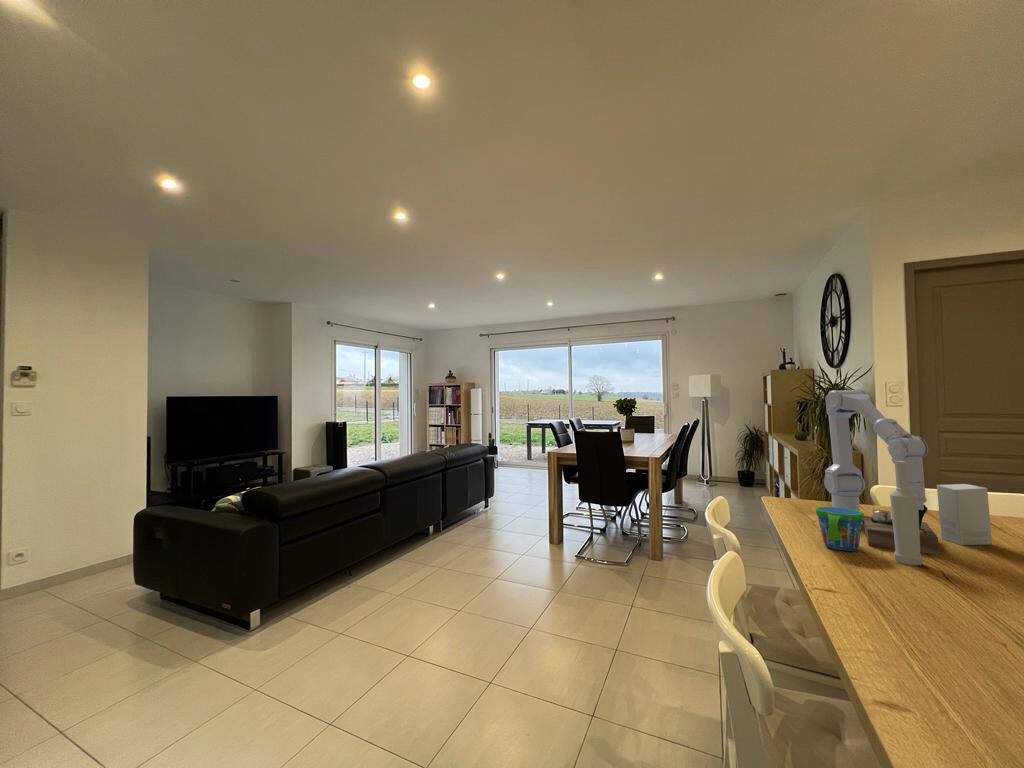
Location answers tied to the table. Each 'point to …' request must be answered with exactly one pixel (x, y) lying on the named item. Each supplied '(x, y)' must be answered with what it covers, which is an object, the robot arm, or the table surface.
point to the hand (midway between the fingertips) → (913, 530)
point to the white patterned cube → (882, 517)
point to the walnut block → (885, 536)
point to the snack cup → (840, 527)
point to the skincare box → (964, 514)
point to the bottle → (905, 520)
